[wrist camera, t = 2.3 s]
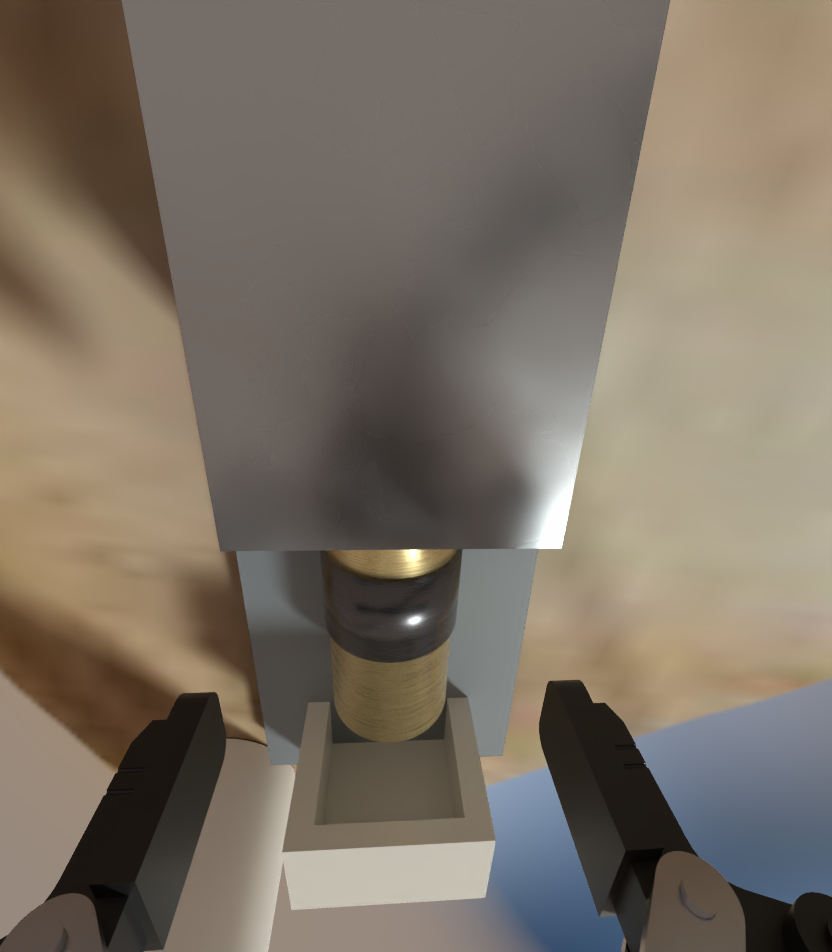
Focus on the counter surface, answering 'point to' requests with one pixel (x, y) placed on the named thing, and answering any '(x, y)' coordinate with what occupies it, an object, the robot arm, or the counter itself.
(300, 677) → the board
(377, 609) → the tube
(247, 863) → the cylindrical container
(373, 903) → the socket
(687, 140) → the counter surface
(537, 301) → the sleeve
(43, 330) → the counter surface
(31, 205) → the counter surface
